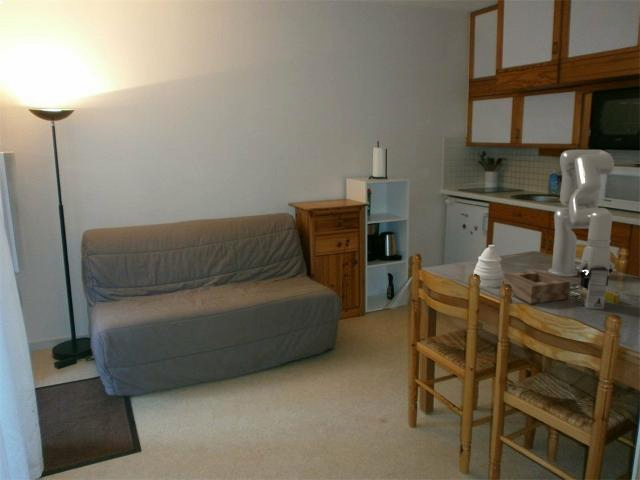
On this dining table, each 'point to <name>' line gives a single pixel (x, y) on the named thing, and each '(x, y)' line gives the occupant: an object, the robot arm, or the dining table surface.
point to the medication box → (612, 297)
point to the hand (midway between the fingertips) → (593, 286)
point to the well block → (538, 287)
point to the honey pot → (489, 268)
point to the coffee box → (595, 289)
